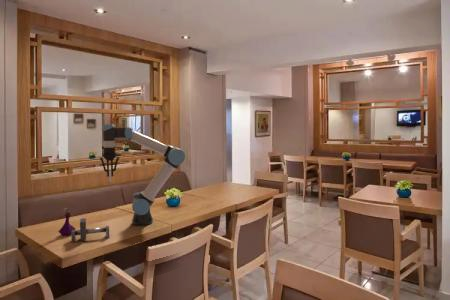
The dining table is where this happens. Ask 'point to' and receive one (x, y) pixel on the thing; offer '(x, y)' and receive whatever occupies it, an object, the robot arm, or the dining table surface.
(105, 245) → the dining table surface
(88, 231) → the pipe stand
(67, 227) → the perfume bottle
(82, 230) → the collar
